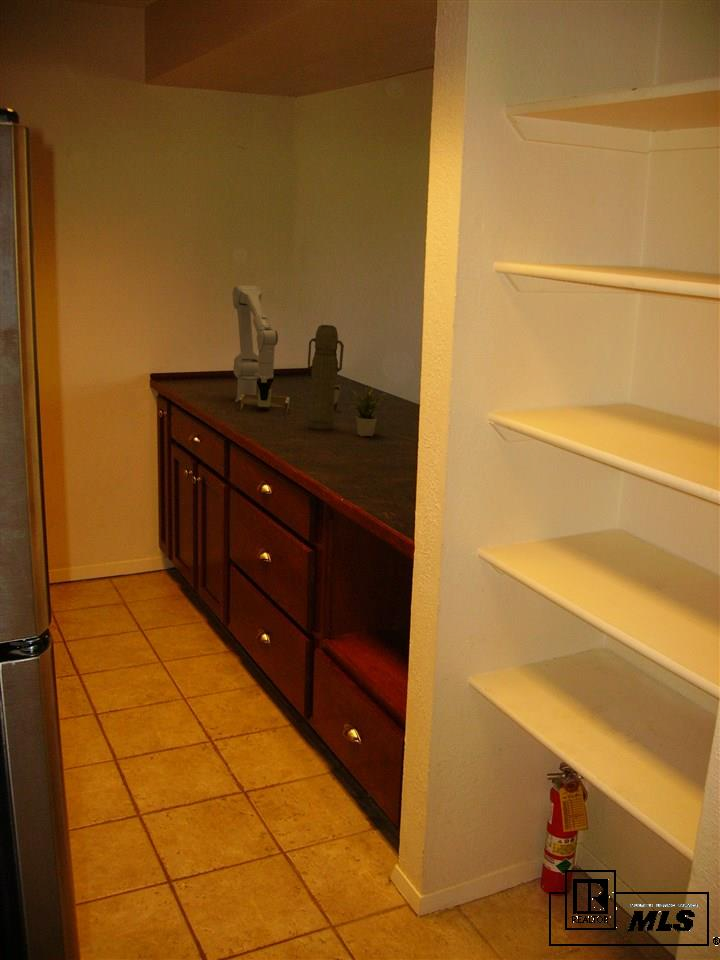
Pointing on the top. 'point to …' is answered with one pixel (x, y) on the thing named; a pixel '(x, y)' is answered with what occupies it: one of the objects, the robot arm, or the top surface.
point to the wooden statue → (324, 377)
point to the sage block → (264, 403)
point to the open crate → (253, 400)
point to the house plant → (366, 414)
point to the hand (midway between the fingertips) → (264, 399)
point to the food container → (336, 396)
